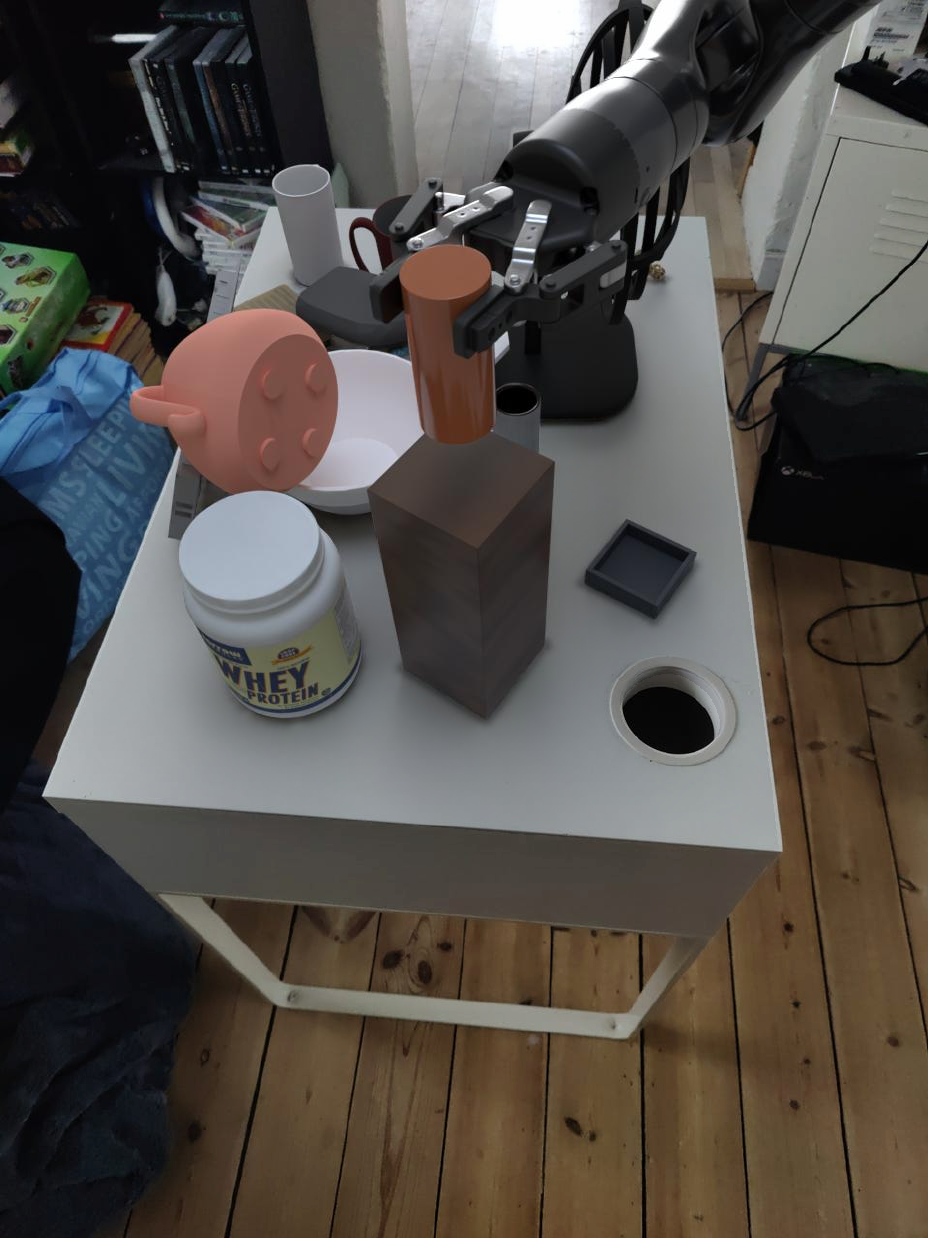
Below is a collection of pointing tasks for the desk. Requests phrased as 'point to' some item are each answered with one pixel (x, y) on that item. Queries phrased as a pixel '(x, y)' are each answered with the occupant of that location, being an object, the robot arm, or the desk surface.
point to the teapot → (247, 400)
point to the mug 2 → (378, 230)
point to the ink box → (281, 307)
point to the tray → (640, 568)
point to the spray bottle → (356, 311)
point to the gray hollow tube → (518, 414)
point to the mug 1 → (308, 221)
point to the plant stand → (467, 562)
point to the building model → (186, 474)
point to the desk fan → (603, 336)
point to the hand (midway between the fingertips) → (417, 324)
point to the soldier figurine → (654, 270)
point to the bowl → (363, 430)
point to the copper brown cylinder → (447, 343)
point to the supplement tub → (271, 603)
